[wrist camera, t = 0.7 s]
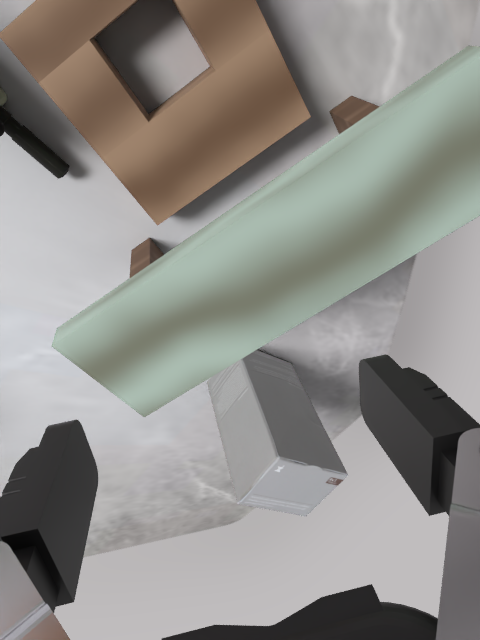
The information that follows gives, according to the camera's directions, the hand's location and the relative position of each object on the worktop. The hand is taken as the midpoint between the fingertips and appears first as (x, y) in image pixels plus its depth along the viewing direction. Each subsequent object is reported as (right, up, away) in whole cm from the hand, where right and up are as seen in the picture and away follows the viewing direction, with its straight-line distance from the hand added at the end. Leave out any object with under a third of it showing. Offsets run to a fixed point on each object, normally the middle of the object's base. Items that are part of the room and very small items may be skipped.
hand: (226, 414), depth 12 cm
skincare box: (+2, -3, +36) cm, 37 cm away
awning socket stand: (-4, +19, +19) cm, 27 cm away
